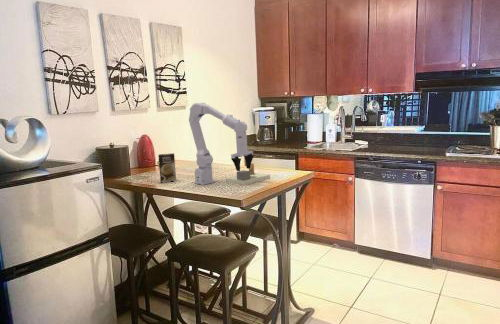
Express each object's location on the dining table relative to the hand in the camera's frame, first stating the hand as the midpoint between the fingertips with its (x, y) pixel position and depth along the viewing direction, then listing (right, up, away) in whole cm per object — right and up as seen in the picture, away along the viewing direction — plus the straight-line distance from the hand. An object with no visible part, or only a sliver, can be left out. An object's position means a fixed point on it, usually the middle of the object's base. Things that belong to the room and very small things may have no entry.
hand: (243, 169), depth 203 cm
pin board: (+3, -6, +7) cm, 10 cm away
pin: (+5, -3, +13) cm, 14 cm away
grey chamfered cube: (0, -5, +1) cm, 5 cm away
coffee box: (-44, -7, +17) cm, 48 cm away
